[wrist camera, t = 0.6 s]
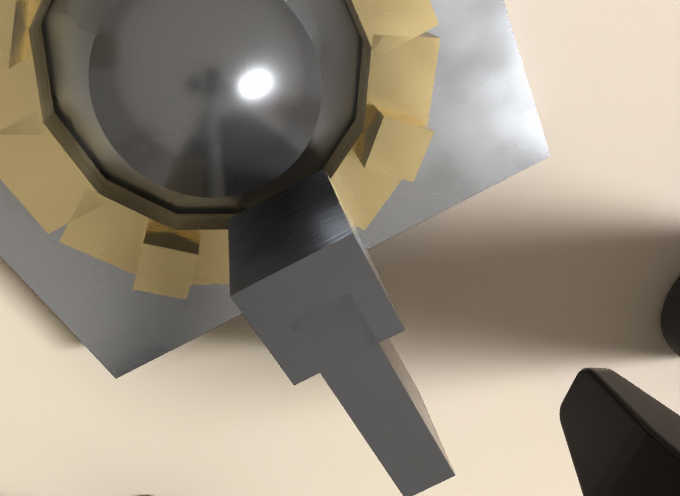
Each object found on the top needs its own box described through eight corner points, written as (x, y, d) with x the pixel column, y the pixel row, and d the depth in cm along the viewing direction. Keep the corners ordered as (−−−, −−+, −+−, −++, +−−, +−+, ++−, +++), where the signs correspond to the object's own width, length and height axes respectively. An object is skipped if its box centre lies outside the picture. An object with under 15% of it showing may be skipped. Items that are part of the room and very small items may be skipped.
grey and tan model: (247, 442, 25) (254, 571, 20) (-156, -37, 15) (-348, -22, 10) (531, 301, 24) (613, 399, 19) (304, -306, 14) (351, -440, 9)
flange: (123, 346, 24) (104, 426, 20) (-232, -51, 16) (-377, -45, 12) (525, 138, 23) (588, 181, 19) (353, -397, 15) (400, -514, 11)
